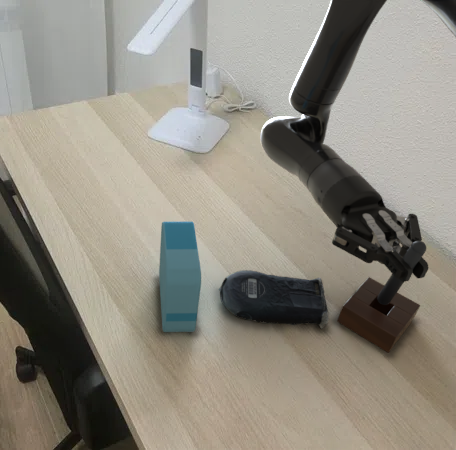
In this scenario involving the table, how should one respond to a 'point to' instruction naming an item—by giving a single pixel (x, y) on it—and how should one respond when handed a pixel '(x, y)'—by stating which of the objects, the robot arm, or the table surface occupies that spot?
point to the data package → (179, 277)
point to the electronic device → (274, 298)
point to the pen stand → (377, 315)
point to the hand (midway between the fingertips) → (416, 274)
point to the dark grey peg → (394, 283)
